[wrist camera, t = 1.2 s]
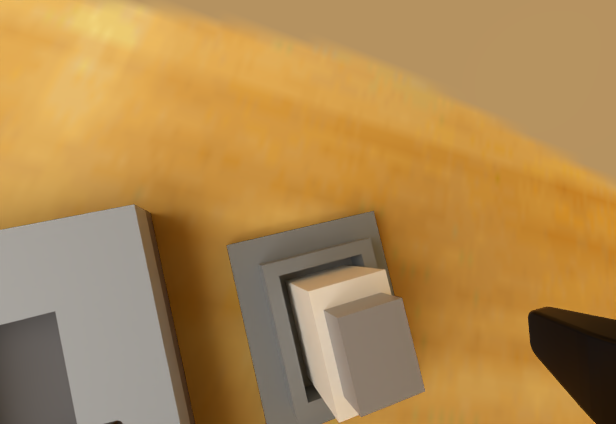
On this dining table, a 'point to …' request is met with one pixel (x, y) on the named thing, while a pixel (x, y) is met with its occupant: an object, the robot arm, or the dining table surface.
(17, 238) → the port
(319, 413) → the holster
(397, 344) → the plug
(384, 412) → the dining table surface
